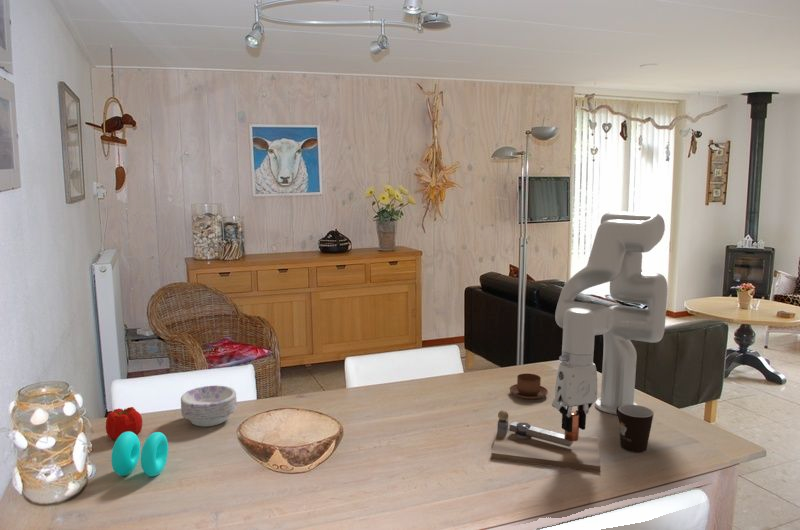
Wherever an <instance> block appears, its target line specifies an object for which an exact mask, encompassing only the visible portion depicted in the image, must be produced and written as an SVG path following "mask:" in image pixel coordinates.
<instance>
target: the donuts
mask: <svg viewBox="0 0 800 530" xmlns="http://www.w3.org/2000/svg"><path fill="white" fill-rule="evenodd" d="M111 450H112V452H111V460H110V461H111V466H112V467H111V468H112V470H113V471H114V473H115V474H116V475H118V476H120V477H121V476H123V477H124V476H128V475H130V474H131V473H132V472H133V471H134V470H135V469H136V467H137V466H138V462H139V460H140V466H141V469H142V471H143V472H144V474H146V475H147V476H149V477H156V476H158V475H160V473H161V472H162V471H163V470H164V468H165V466H166V463H167V460H168V457H169V455H168V454H169V443H168V437H167V436H166V435H165V434H164V433H163V432H160V431H154V432H153V433H150V435H148V436H147V437H146V439H145V441H144V442H143V444H142V448H141V443H140V439H139V437H138V435H136V434H135V433H133V432H130V431H128V432H124V433H122V434H121V435H120V436H119V437H118V438H117V440H115V442H114V444H113V447H112V449H111Z"/></svg>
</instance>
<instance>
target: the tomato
mask: <svg viewBox="0 0 800 530" xmlns="http://www.w3.org/2000/svg"><path fill="white" fill-rule="evenodd" d="M142 429H143V417H142V414H140V412H139V411H137V410H136V408H135V407H134V406H131V407H130V406H129V407H127V408H124V409H123V408H116V409H113V411H110V412H109V413H108V414H107V417H106V420H105V431H106V434H107V436H108V438H109V439H110V440H114V441H116V440H117V438H118V437H119V436H120V435H121V434H122V433H124V432H128V431H130V432H133V433H135V434H136V435H137V436H138V435H139V434H140V433H141V432H142Z"/></svg>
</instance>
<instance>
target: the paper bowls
mask: <svg viewBox="0 0 800 530" xmlns="http://www.w3.org/2000/svg"><path fill="white" fill-rule="evenodd" d="M237 403H238V402H237V392H236V390H235V388H233V387H231V386H227V385H218V384H217V385H204V386H200V387H195V388H192V389H190V390H188V391H185V392H184V393H183V394H182V395H181V397H180V408H181V409H180V411H181V416H182V418H184V419H186V420H189V421H190V423H191V424H193V425H194V426H196V427H205V428H206V427H214V426H217V425H220V424H223V423H224V422H226V421H227V420H228V419H229V418H230V415H232V414H233V413H234V412H235V411H237V408H238V404H237Z"/></svg>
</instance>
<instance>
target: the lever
mask: <svg viewBox="0 0 800 530" xmlns="http://www.w3.org/2000/svg"><path fill="white" fill-rule="evenodd" d="M571 417H573V423H572V432H567V431H566V430H564V434H563V433H559V432H555V431H552V430H548V429H544V428H541V427H538V426H534V425H531V424H530V423H528V422H518V421H512V422H511V423H510V424H508V429H509V431H512V432H516V433H518V434H520V435H527V436H531V437H535V438H538V439H542V440H546V441H549V442H553V443H557V444H561V445H564V446H568V447H570V446H571V445H572V444H573V441H578V436H579V434H580V433H579V432H580V428H579V417H580V414H579V413H578V412H576V410H575V411H574V410H572V412H571Z"/></svg>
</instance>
